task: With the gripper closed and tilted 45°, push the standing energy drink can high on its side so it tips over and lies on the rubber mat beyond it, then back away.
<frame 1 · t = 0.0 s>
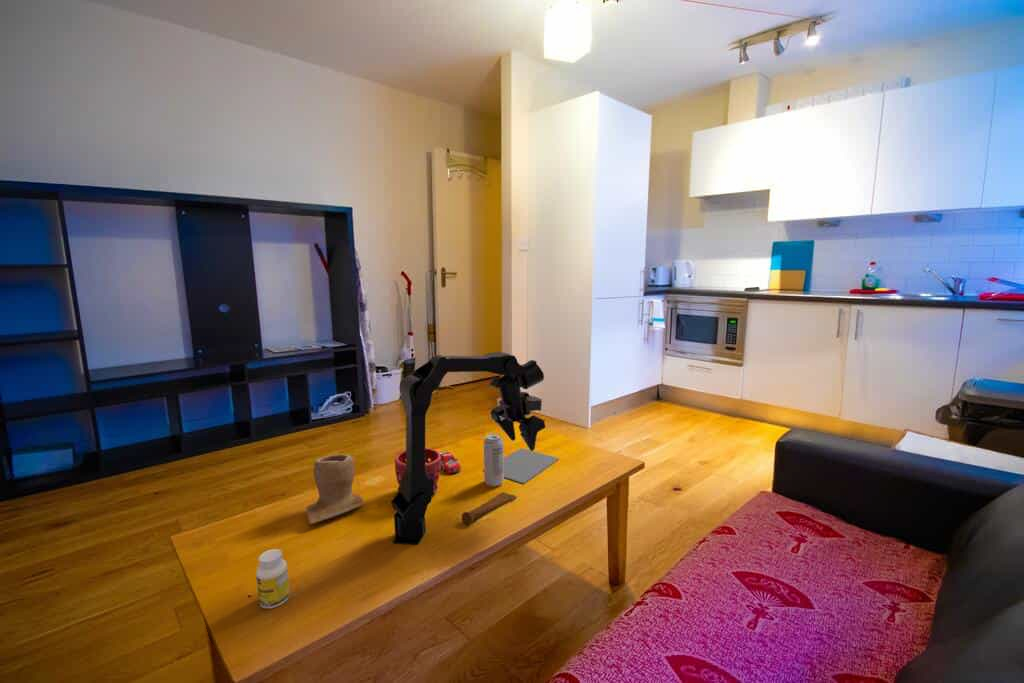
hand: (522, 444, 126), 15 cm above the table, tool pointing down, fingers open, 9 cm apart
primitive tool: (489, 510, 122), on the table
supplement bottle: (275, 600, 88), on the table
plant pot: (419, 494, 130), on the table
mat: (522, 465, 149), on the table
race car: (448, 467, 148), on the table
stone cup: (332, 511, 121), on the table
energy drink can: (494, 483, 136), on the table
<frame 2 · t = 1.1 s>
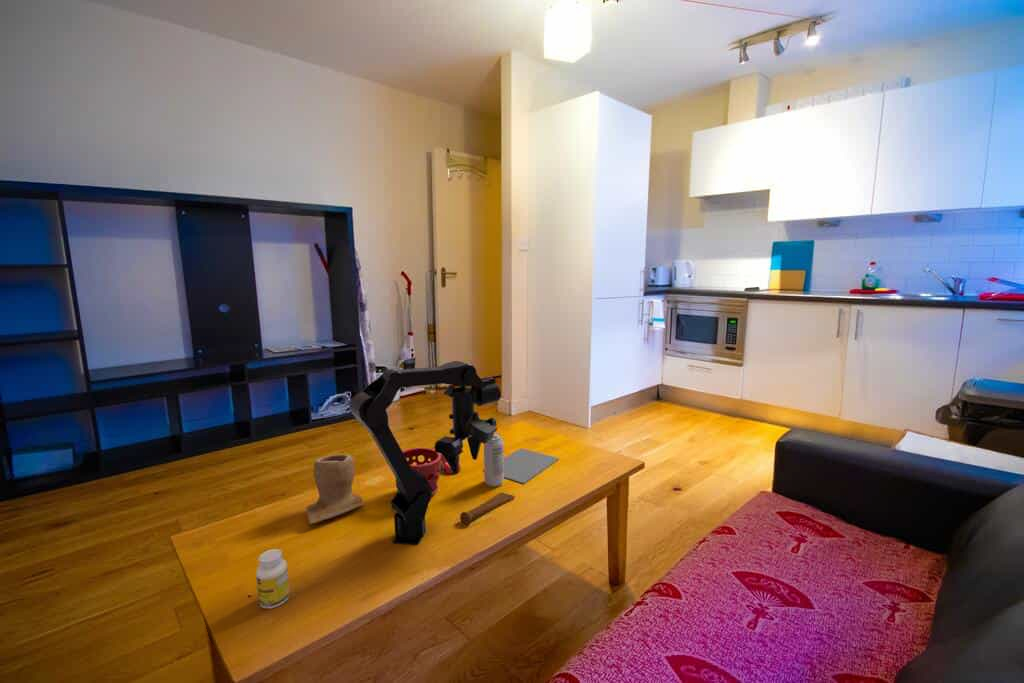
hand: (465, 466, 117), 13 cm above the table, tool pointing down, fingers open, 9 cm apart
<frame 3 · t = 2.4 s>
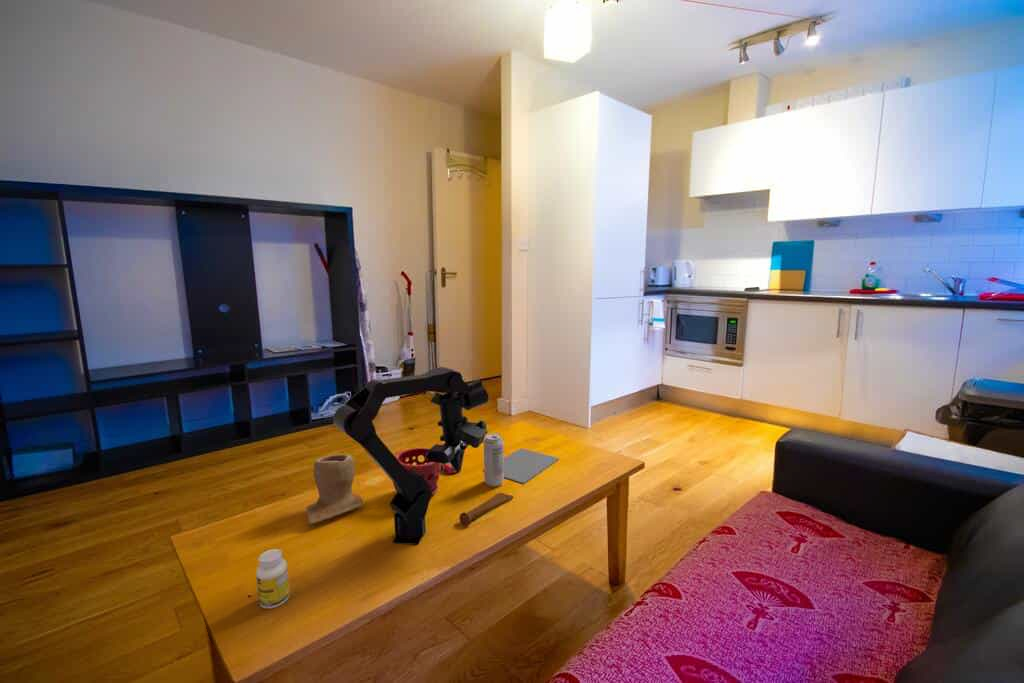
hand: (458, 470, 117), 12 cm above the table, tool pointing down, fingers closed
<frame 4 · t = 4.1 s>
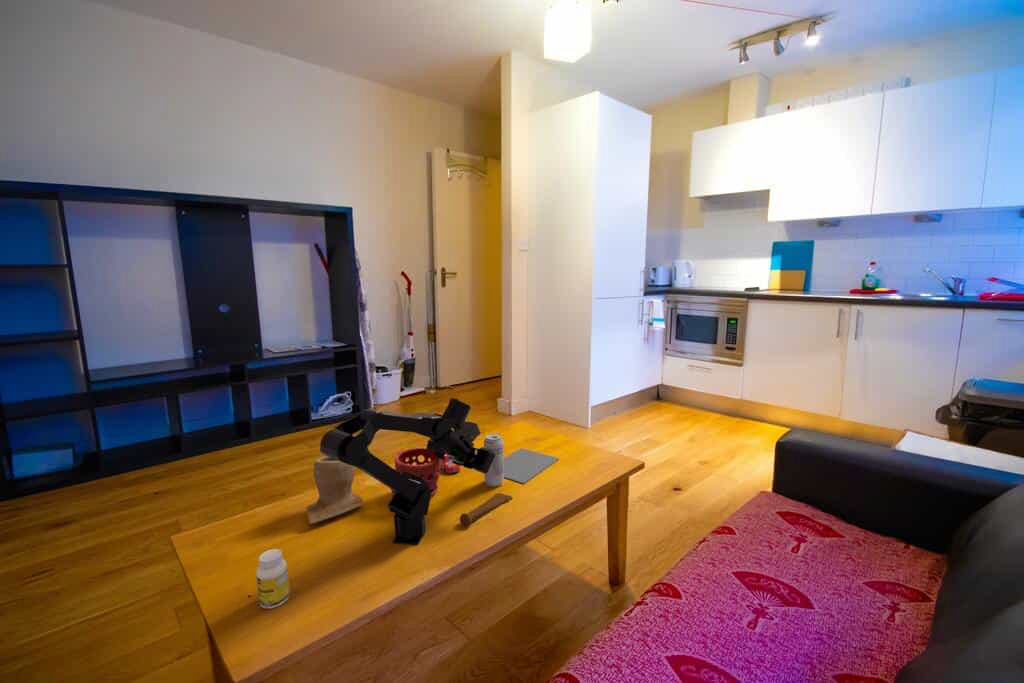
hand: (477, 466, 129), 8 cm above the table, tool tilted 45°, fingers closed
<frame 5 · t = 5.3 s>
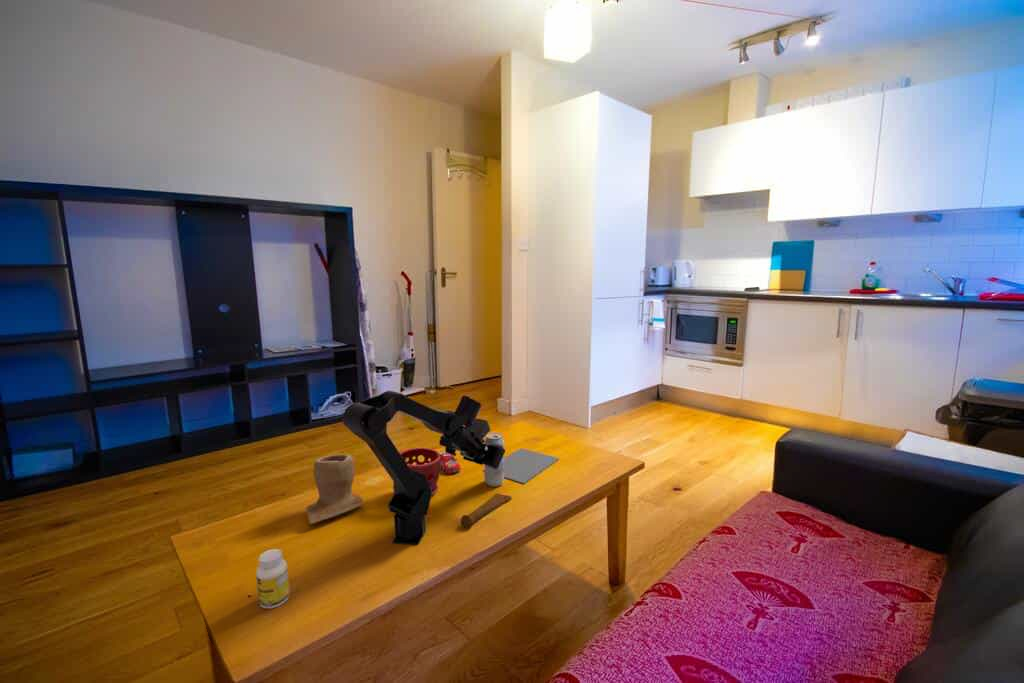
hand: (487, 462, 132), 8 cm above the table, tool tilted 45°, fingers closed
energy drink can: (494, 483, 136), on the table, touching gripper
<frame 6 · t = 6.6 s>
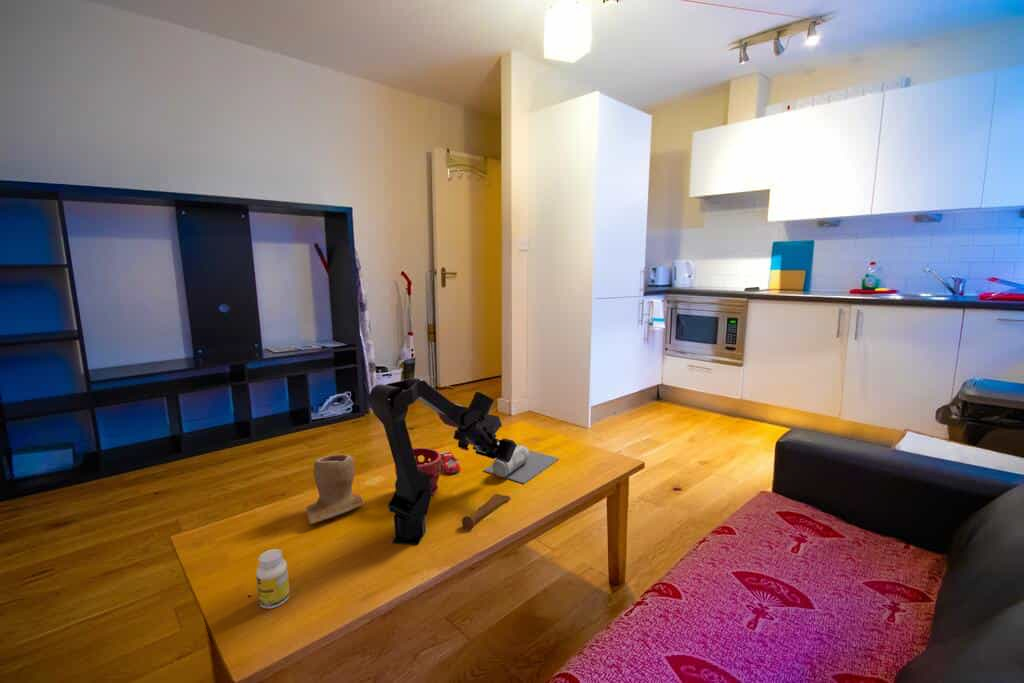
hand: (498, 456, 137), 8 cm above the table, tool tilted 45°, fingers closed
energy drink can: (498, 469, 138), point 3 cm above the table, touching mat
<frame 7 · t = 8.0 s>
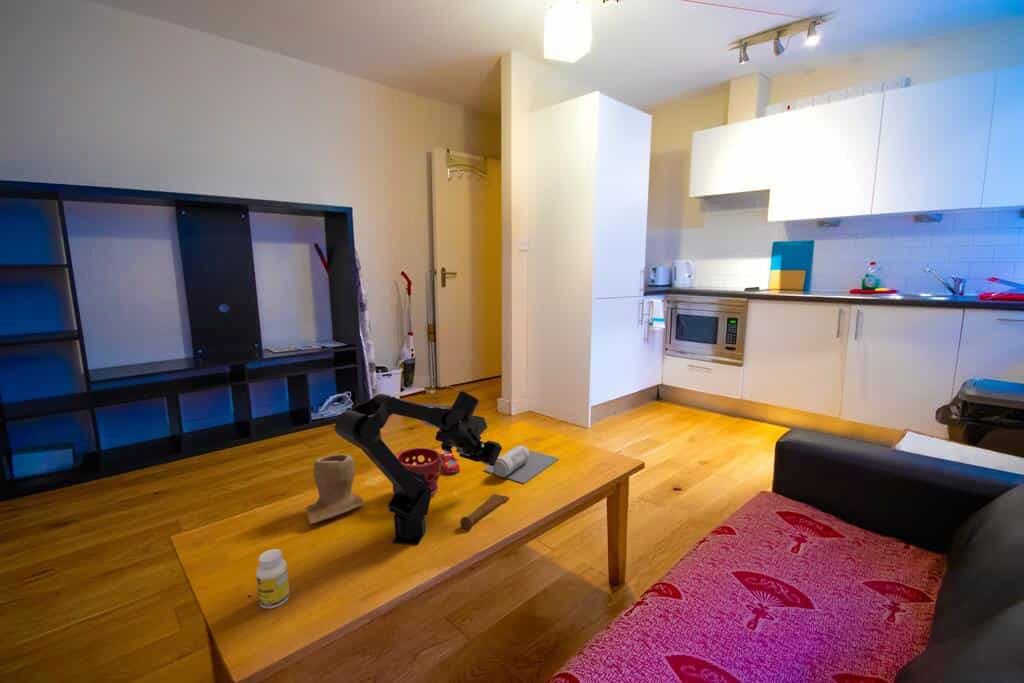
hand: (483, 460, 131), 9 cm above the table, tool tilted 45°, fingers closed
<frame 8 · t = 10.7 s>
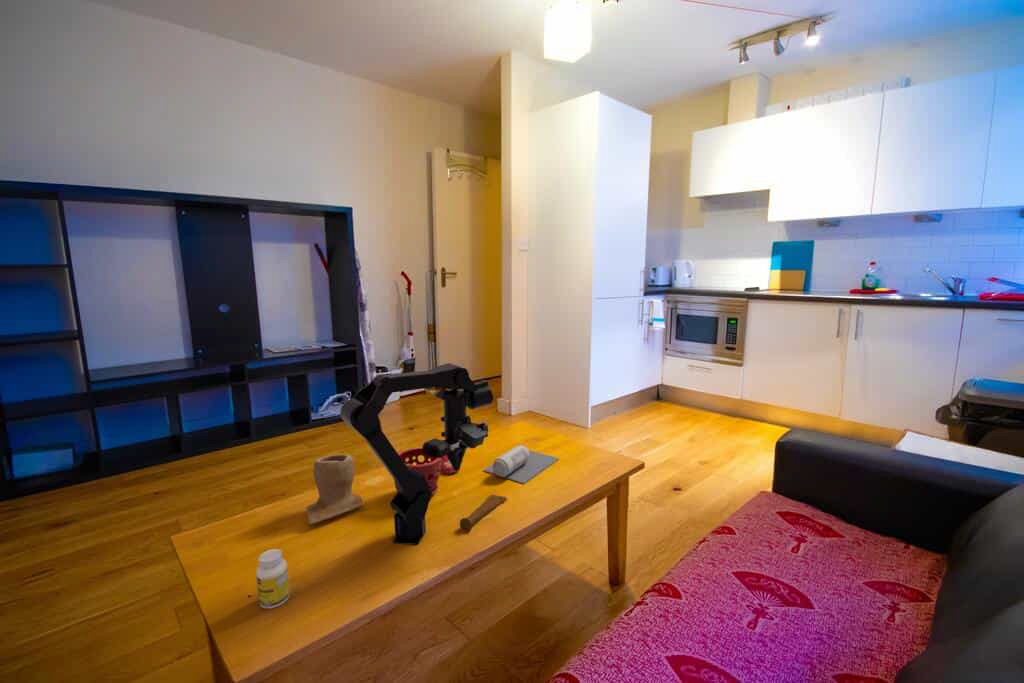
hand: (456, 470, 116), 13 cm above the table, tool pointing down, fingers closed
at the end: energy drink can tilted 90°; energy drink can inside the target area (1.4 cm from its centre), point 3.4 cm above the table; energy drink can touching mat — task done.
